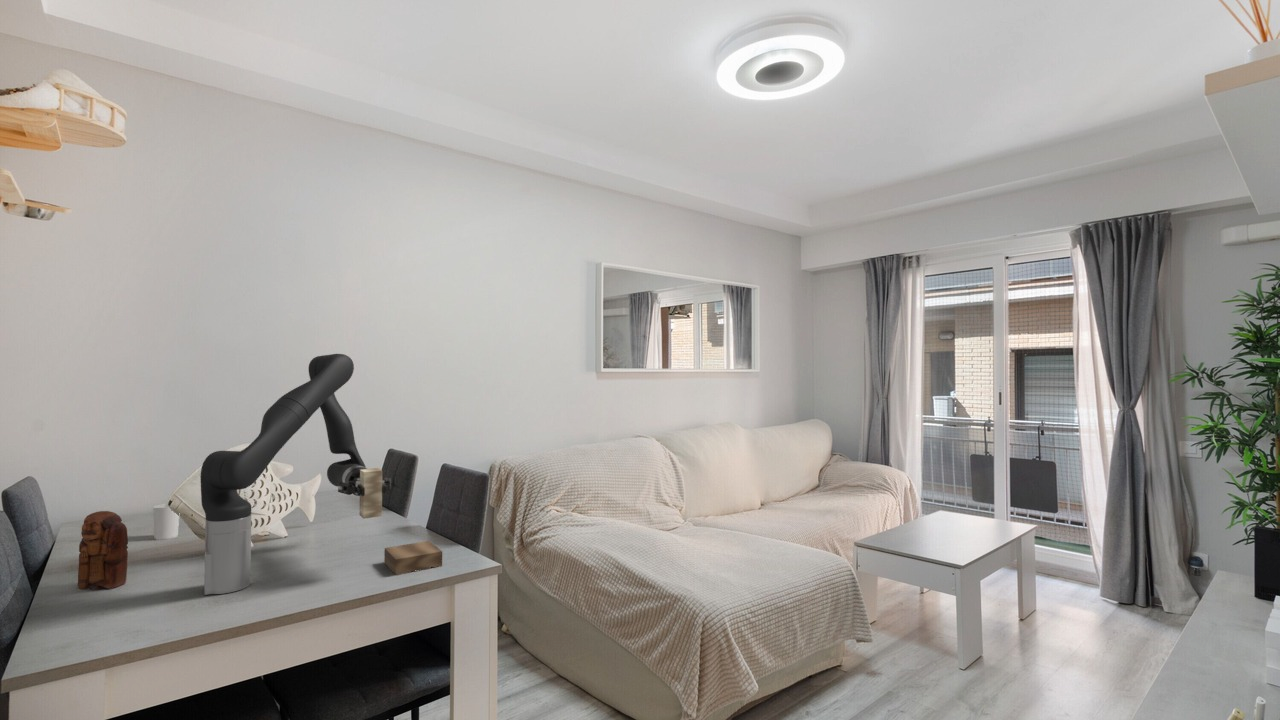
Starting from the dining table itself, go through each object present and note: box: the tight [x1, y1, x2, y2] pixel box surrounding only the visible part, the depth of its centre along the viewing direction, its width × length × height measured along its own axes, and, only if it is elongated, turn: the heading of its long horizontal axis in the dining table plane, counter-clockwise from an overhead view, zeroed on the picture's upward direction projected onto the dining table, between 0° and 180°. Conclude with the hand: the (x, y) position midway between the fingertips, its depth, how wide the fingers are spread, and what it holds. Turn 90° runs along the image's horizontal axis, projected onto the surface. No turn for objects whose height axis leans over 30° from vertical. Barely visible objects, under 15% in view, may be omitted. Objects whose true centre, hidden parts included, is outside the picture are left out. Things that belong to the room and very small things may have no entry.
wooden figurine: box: [77, 510, 129, 590], centre depth 146 cm, size 12×6×18 cm, turn 86°
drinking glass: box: [152, 502, 180, 541], centre depth 187 cm, size 7×7×10 cm
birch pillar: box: [358, 467, 383, 520], centre depth 157 cm, size 4×4×12 cm
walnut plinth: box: [384, 540, 443, 576], centre depth 162 cm, size 12×12×4 cm
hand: (373, 490), depth 154 cm, fingers closed on birch pillar, 4 cm apart
